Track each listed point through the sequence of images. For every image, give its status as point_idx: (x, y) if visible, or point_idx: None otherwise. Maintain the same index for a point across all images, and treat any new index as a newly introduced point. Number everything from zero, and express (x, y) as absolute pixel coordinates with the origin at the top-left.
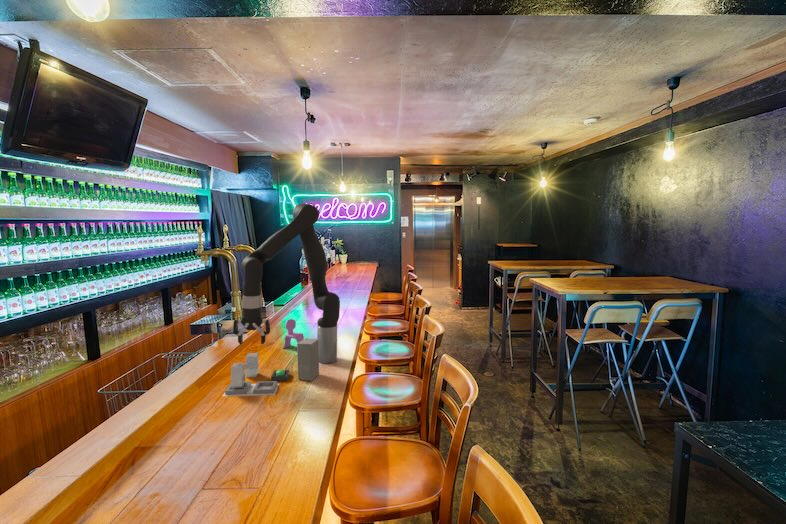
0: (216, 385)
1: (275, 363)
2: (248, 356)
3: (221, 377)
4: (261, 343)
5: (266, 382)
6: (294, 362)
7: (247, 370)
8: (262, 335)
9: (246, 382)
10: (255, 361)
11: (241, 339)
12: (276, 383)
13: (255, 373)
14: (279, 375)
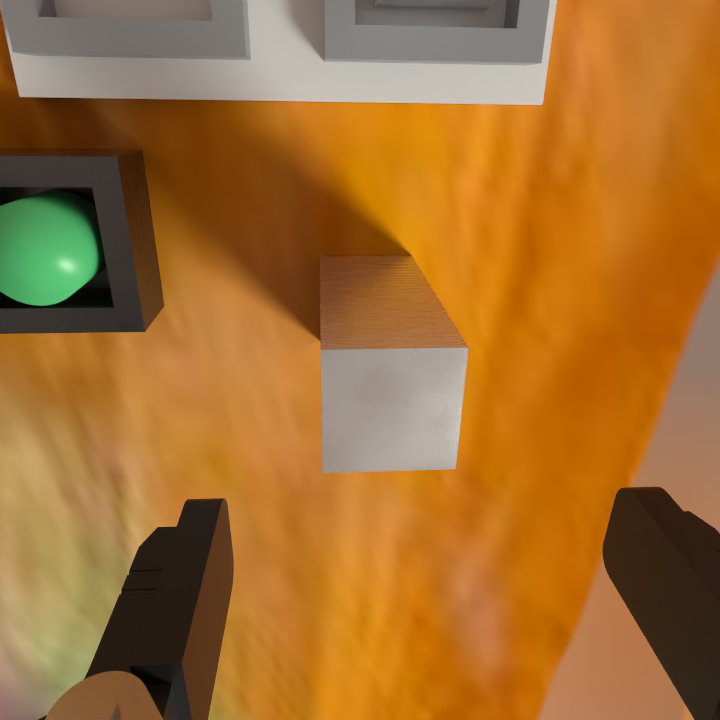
0: (663, 145)
1: (240, 558)
2: (432, 354)
3: (634, 314)
4: (210, 505)
5: (131, 20)
6: (85, 576)
7: (414, 284)
8: (128, 681)
9: (370, 36)
10: (327, 320)
11: (677, 570)
12: (11, 14)
13: (327, 272)
14: (27, 185)
